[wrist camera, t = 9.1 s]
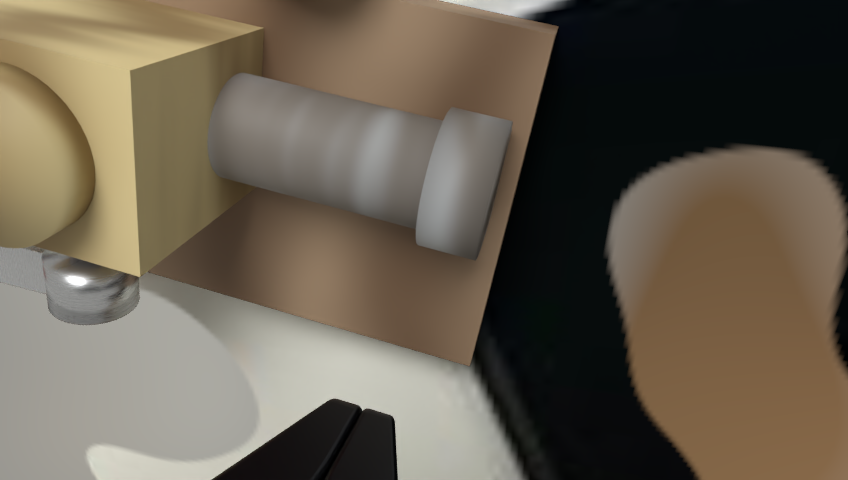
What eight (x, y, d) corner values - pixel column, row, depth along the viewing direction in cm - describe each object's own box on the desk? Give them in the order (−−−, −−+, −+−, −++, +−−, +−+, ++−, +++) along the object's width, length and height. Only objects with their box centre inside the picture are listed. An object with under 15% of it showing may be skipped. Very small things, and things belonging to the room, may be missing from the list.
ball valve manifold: (558, 26, 18) (529, 100, 10) (477, 341, 23) (419, 540, 16) (49, -84, 20) (-274, -87, 13) (80, 227, 25) (-137, 354, 18)
